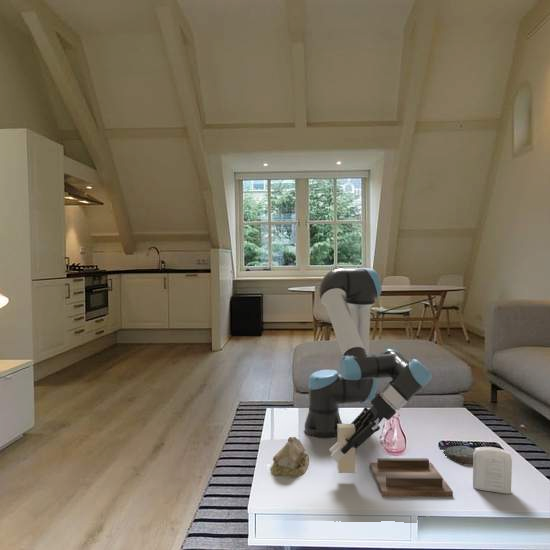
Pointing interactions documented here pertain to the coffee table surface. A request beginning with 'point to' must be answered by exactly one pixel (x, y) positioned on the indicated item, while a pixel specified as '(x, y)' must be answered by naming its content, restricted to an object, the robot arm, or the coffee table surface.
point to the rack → (408, 477)
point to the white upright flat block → (492, 469)
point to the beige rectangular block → (348, 459)
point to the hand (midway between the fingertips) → (333, 455)
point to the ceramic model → (290, 459)
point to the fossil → (460, 454)
